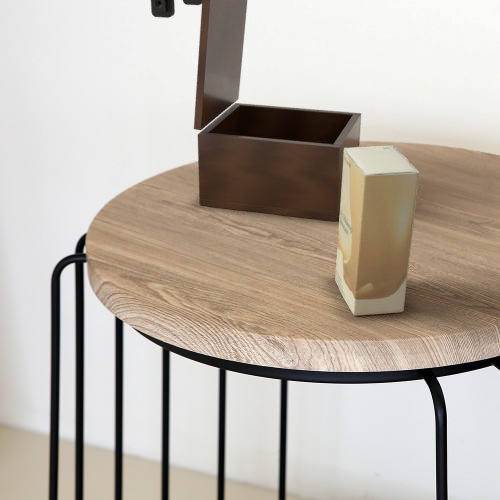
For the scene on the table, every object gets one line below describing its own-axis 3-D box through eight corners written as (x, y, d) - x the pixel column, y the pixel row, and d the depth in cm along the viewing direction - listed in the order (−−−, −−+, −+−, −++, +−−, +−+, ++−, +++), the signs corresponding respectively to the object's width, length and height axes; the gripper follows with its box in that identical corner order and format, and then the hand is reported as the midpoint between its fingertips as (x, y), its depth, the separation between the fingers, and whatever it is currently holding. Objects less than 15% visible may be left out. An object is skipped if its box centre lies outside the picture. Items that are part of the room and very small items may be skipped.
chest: (357, 179, 91) (361, 113, 88) (335, 221, 80) (339, 147, 77) (235, 166, 95) (235, 102, 92) (199, 205, 84) (197, 134, 81)
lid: (251, -43, 84) (206, -49, 85) (212, -29, 73) (161, -37, 75) (238, 99, 91) (197, 92, 92) (200, 130, 80) (155, 121, 82)
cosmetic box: (333, 281, 69) (340, 145, 63) (382, 277, 69) (393, 142, 64) (353, 319, 63) (363, 173, 58) (406, 314, 64) (421, 169, 58)
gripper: (182, -170, 68) (188, 24, 75) (233, -164, 81) (234, 2, 88) (103, -169, 70) (116, 20, 77) (164, -164, 83) (171, -1, 90)
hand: (179, 10), depth 82 cm, fingers open, 8 cm apart
